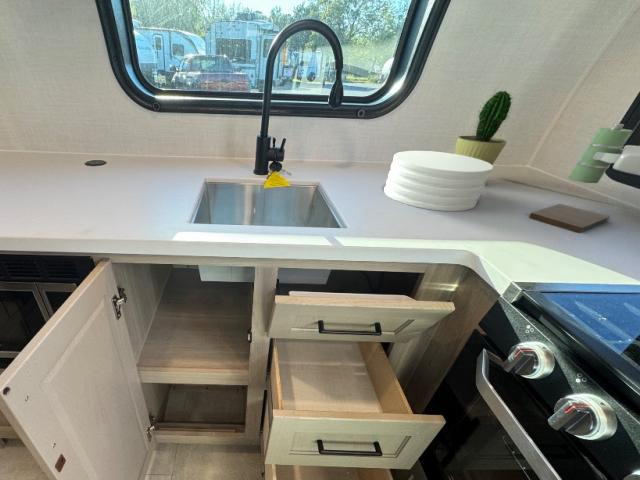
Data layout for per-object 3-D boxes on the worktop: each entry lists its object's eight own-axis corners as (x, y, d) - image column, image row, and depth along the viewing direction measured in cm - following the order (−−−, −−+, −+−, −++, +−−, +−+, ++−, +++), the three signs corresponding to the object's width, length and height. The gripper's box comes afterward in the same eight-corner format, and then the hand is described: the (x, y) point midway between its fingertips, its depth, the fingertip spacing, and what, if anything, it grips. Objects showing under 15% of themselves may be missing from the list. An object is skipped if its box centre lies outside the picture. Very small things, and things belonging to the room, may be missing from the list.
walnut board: (556, 208, 100) (559, 203, 99) (605, 221, 91) (609, 216, 90) (528, 217, 92) (531, 212, 92) (579, 233, 84) (582, 227, 83)
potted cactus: (438, 173, 131) (471, 86, 113) (479, 177, 128) (520, 88, 110) (446, 184, 119) (485, 88, 101) (492, 188, 116) (541, 90, 98)
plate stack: (496, 207, 99) (516, 169, 92) (423, 214, 92) (439, 174, 86) (430, 181, 121) (442, 149, 114) (367, 186, 114) (376, 152, 107)
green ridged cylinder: (599, 180, 90) (637, 124, 82) (597, 184, 87) (636, 126, 78) (569, 175, 94) (602, 121, 86) (566, 179, 91) (600, 123, 82)
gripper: (678, 144, 83) (607, 136, 91) (682, 154, 71) (600, 145, 79) (659, 169, 86) (592, 160, 94) (659, 183, 75) (583, 171, 83)
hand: (595, 153), depth 87 cm, fingers closed on green ridged cylinder, 6 cm apart
